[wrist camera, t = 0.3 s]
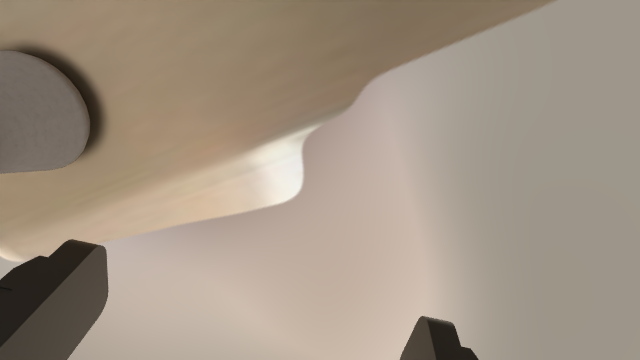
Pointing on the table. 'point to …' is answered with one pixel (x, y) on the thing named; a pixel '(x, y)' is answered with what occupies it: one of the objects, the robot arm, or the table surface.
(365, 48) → the table surface
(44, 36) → the table surface
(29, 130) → the coffee pot
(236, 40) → the table surface
